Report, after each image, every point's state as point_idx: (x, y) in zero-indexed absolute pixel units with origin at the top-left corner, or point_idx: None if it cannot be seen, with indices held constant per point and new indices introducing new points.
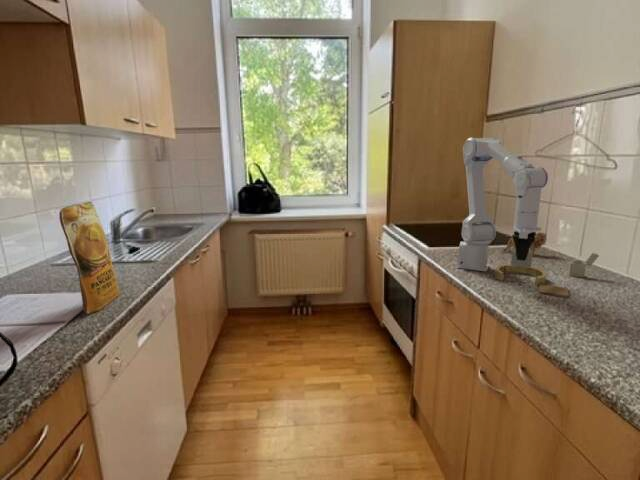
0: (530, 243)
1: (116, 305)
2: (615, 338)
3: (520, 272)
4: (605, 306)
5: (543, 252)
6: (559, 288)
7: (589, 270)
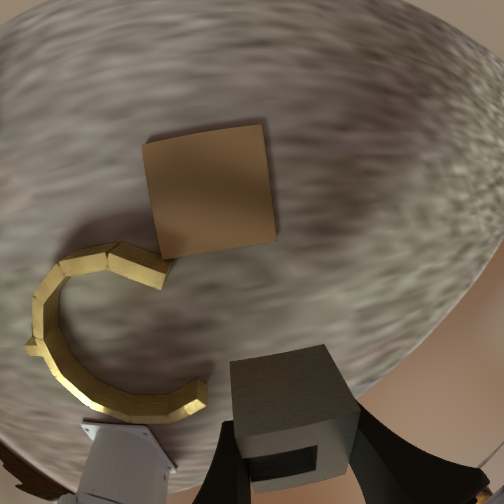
0: (451, 467)
1: None
2: (474, 60)
3: (64, 343)
4: (275, 17)
5: None
6: (172, 172)
7: None
